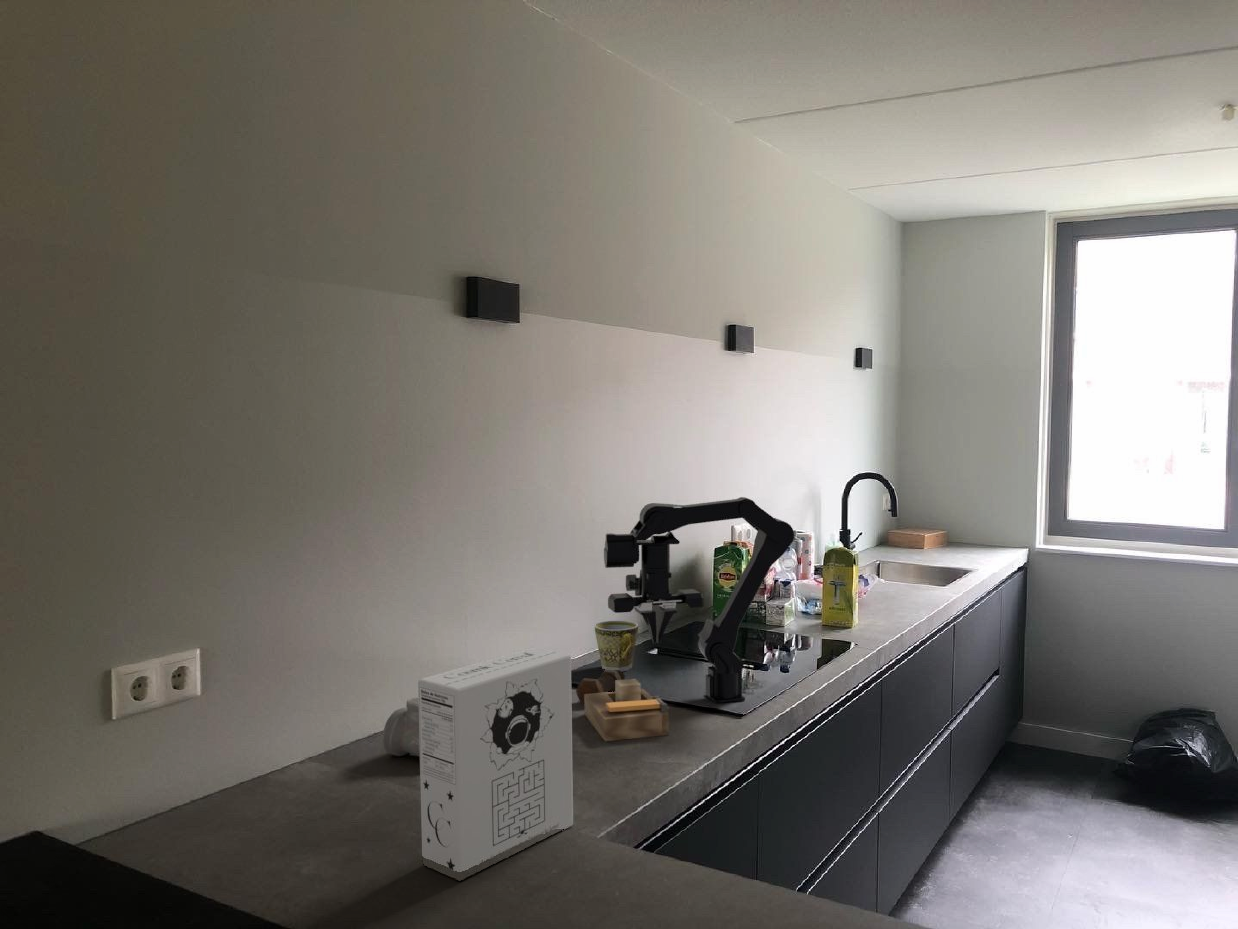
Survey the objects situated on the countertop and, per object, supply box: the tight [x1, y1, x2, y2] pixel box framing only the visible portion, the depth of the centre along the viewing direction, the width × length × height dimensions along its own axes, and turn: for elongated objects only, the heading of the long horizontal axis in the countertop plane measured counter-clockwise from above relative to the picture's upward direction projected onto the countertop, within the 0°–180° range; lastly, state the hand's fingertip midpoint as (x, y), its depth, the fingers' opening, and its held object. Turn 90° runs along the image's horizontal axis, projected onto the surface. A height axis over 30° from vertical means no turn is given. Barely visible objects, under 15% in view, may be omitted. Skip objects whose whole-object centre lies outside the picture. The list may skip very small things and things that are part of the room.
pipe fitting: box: [381, 697, 420, 758], centre depth 168 cm, size 12×8×10 cm
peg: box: [615, 678, 642, 702], centre depth 189 cm, size 4×4×7 cm
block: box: [583, 688, 670, 742], centre depth 185 cm, size 12×16×5 cm
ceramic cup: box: [594, 619, 639, 673], centre depth 223 cm, size 13×10×10 cm
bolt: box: [575, 670, 626, 705], centre depth 204 cm, size 6×5×15 cm
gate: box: [606, 698, 665, 712], centre depth 181 cm, size 11×3×1 cm, turn 105°
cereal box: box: [417, 646, 574, 872], centre depth 134 cm, size 22×8×25 cm, turn 141°
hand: (656, 642), depth 199 cm, fingers closed
